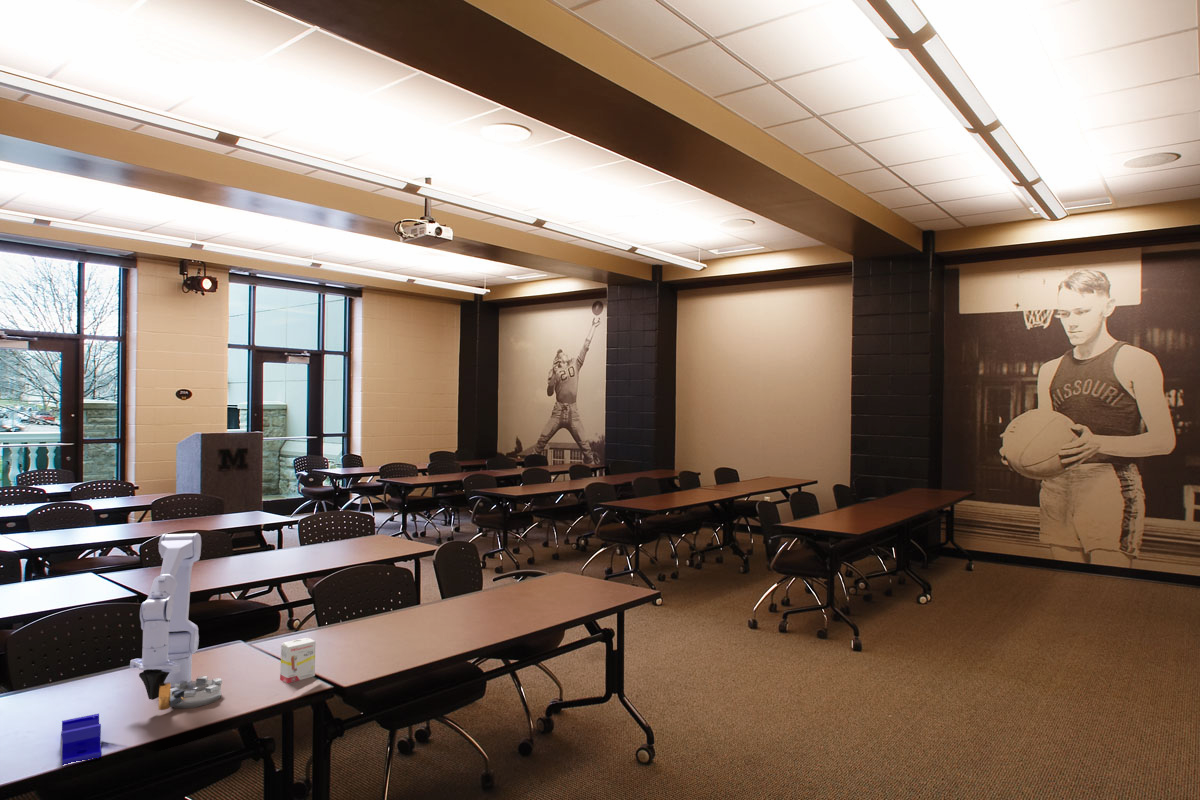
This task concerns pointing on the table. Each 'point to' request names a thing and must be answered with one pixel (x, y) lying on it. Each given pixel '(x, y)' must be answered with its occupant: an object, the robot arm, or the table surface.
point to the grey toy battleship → (189, 693)
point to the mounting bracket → (81, 739)
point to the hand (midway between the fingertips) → (154, 698)
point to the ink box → (297, 660)
